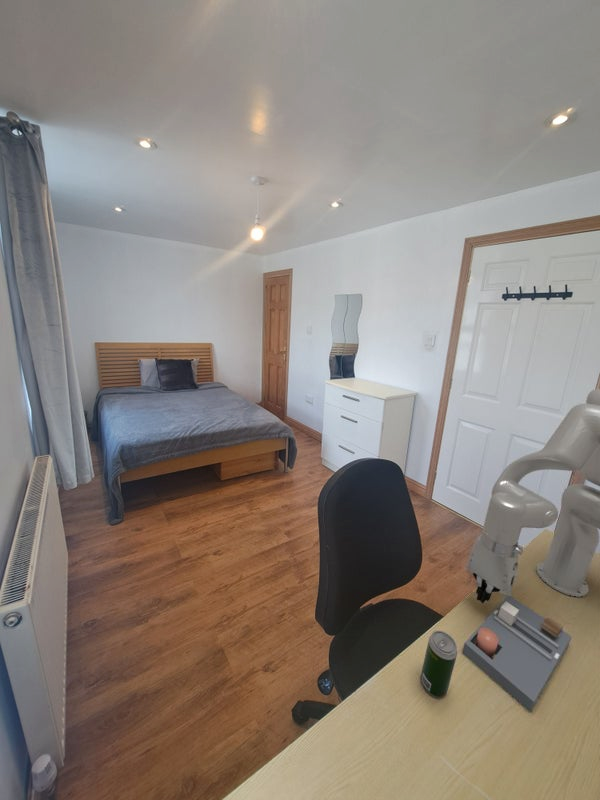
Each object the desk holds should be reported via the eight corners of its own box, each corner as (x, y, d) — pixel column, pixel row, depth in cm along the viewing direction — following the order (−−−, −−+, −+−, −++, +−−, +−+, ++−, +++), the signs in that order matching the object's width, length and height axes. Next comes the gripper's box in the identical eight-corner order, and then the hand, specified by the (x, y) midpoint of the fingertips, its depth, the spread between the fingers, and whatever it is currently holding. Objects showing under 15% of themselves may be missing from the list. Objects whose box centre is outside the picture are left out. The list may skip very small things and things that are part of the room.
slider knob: (502, 611, 82) (505, 601, 81) (515, 620, 80) (519, 610, 79) (497, 616, 80) (500, 606, 80) (510, 626, 78) (514, 616, 77)
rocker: (546, 619, 80) (547, 616, 80) (561, 629, 78) (563, 626, 78) (540, 626, 77) (541, 623, 77) (556, 637, 75) (557, 633, 75)
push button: (480, 635, 77) (483, 624, 76) (498, 649, 74) (501, 638, 73) (472, 644, 74) (475, 633, 74) (490, 659, 71) (493, 648, 70)
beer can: (436, 705, 64) (448, 661, 61) (414, 679, 68) (424, 637, 65) (452, 689, 67) (463, 646, 64) (429, 666, 71) (439, 624, 68)
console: (506, 603, 89) (509, 592, 88) (568, 645, 78) (572, 634, 77) (462, 652, 75) (465, 640, 74) (530, 712, 64) (535, 699, 63)
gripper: (538, 554, 76) (519, 613, 81) (475, 520, 88) (461, 574, 93) (525, 567, 72) (506, 629, 77) (461, 529, 83) (448, 585, 88)
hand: (482, 598), depth 85 cm, fingers closed
